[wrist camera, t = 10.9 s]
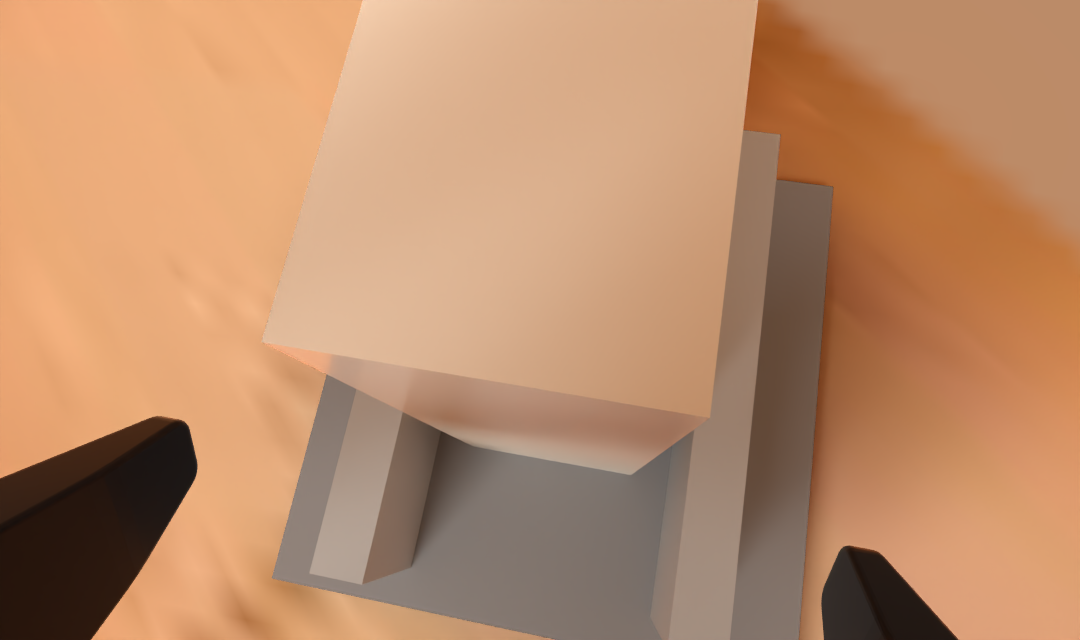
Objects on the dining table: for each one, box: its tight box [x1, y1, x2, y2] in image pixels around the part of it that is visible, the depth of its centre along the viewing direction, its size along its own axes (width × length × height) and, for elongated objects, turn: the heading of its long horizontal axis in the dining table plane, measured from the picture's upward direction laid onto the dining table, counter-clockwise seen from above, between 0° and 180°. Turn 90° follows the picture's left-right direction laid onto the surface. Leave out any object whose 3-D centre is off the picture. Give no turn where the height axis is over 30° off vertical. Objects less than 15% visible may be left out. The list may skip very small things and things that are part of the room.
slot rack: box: [272, 130, 833, 640], centre depth 18 cm, size 14×14×5 cm
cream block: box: [262, 0, 758, 475], centre depth 13 cm, size 5×4×12 cm
